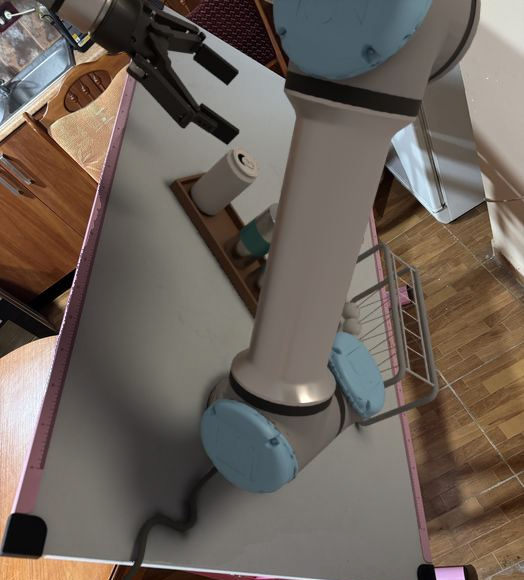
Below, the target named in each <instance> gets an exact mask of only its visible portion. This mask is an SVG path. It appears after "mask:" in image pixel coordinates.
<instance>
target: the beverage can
mask: <svg viewBox="0 0 524 580" xmlns="http://www.w3.org/2000/svg"><path fill="white" fill-rule="evenodd" d="M206 172H207V173H205V172H204V173H205V174H204V175H203V176H202V177H201V178H200V179H199V180H198V181H197V182H196V183H195V184H194V185H193V186H192V188H191V197H192V200H193V202H194V204H195V205H196V207H197V208H198V209H199V210H201V211H202V212H204V213H206V214H209V215H216V214H218V213H219V212H220V211H221V210H222V209H223V208H224V207H226V206H227V205H228V204H229V203H230V202H233V201H234V200H235V199H236V198H237V197H238V196H240V195H241V194H242V193H243V192H244V191H246V190H247V189H248V188H249V187H250V186H251V185H253V183H254V182H256V180H257V177H258V176H259V175H260V166H259V163H258V161H257V160H256V158H255V156H254V155H253V154H252V153H251V152H250V151H249V150H247V149H246V148H244V147H241V146H236V147H234V149H229V150H227V152H226V153H225V154H224V155H223V156H222V157H221V158H219V160H218V161H217V162H216V163H215V164H213V166H212V167H210V168H209V169H208V170H207V171H206Z"/></svg>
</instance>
